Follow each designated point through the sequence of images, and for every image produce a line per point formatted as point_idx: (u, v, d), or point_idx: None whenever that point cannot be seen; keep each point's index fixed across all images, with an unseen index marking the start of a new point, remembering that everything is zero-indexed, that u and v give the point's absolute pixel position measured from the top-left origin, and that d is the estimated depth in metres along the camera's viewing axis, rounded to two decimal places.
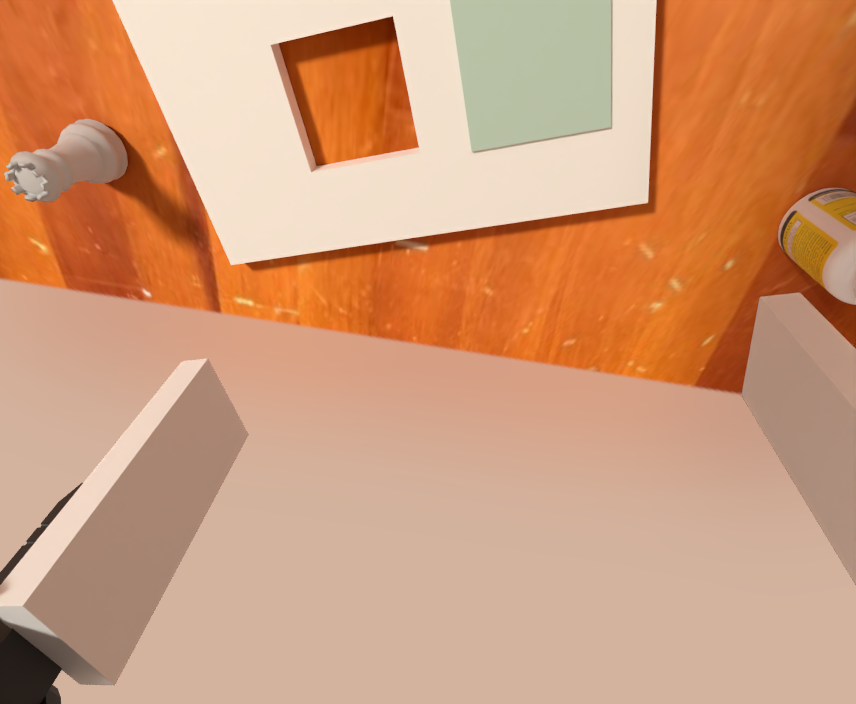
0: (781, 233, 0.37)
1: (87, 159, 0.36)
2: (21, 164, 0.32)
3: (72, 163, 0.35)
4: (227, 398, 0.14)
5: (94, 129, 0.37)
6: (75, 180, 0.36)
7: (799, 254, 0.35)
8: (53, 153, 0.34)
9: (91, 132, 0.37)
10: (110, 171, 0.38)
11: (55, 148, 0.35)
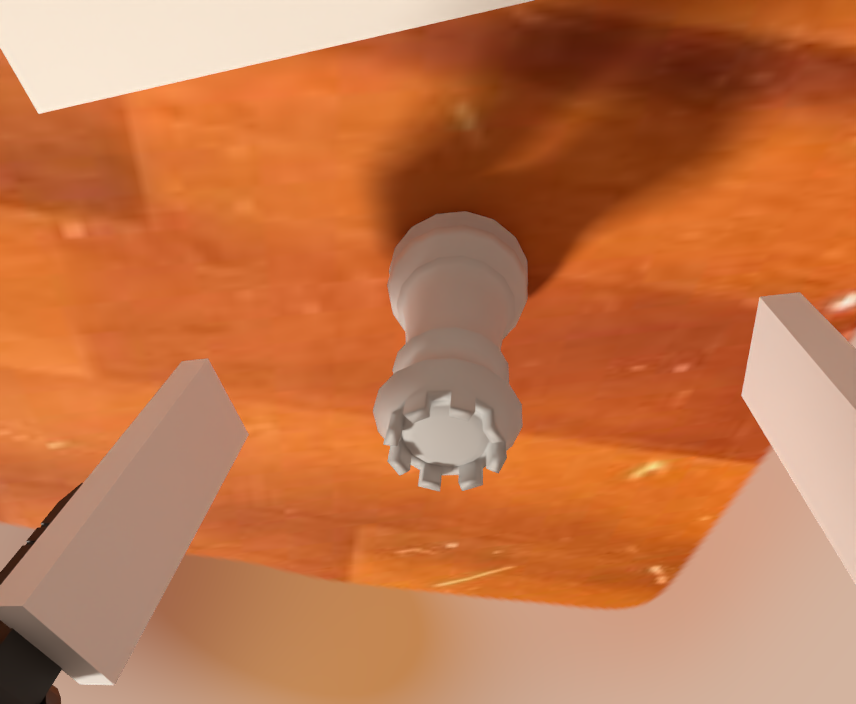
0: None
1: (445, 288, 0.13)
2: (390, 437, 0.10)
3: (439, 321, 0.12)
4: (227, 397, 0.14)
5: (397, 259, 0.15)
6: (487, 332, 0.13)
7: None
8: (402, 352, 0.12)
9: (401, 267, 0.15)
10: (494, 257, 0.14)
11: None
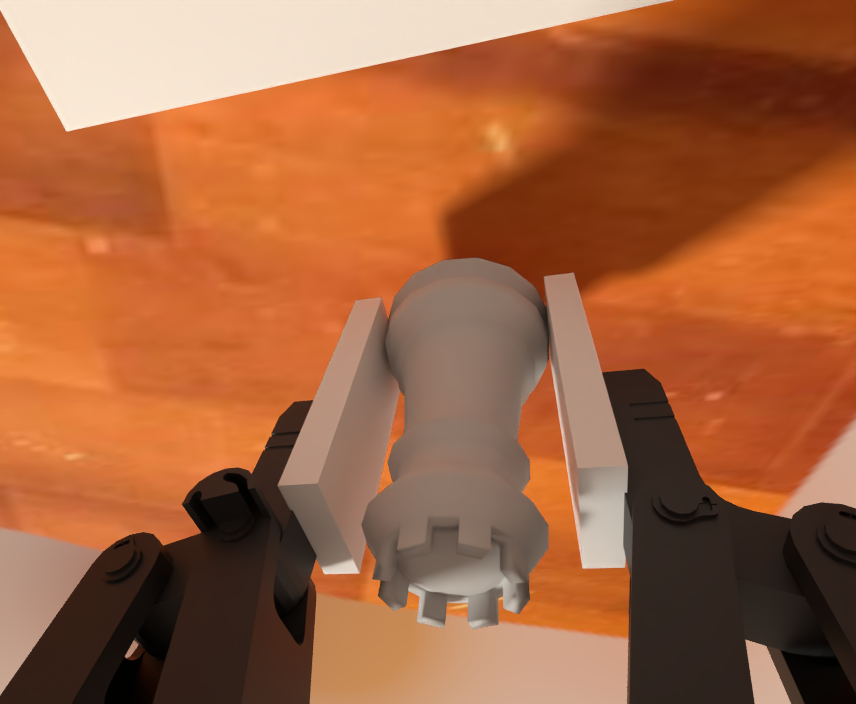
0: None
1: (452, 358, 0.11)
2: (381, 572, 0.08)
3: (445, 405, 0.10)
4: None
5: (397, 315, 0.13)
6: (503, 418, 0.10)
7: None
8: (398, 445, 0.10)
9: (400, 324, 0.13)
10: (511, 314, 0.12)
11: (404, 429, 0.11)
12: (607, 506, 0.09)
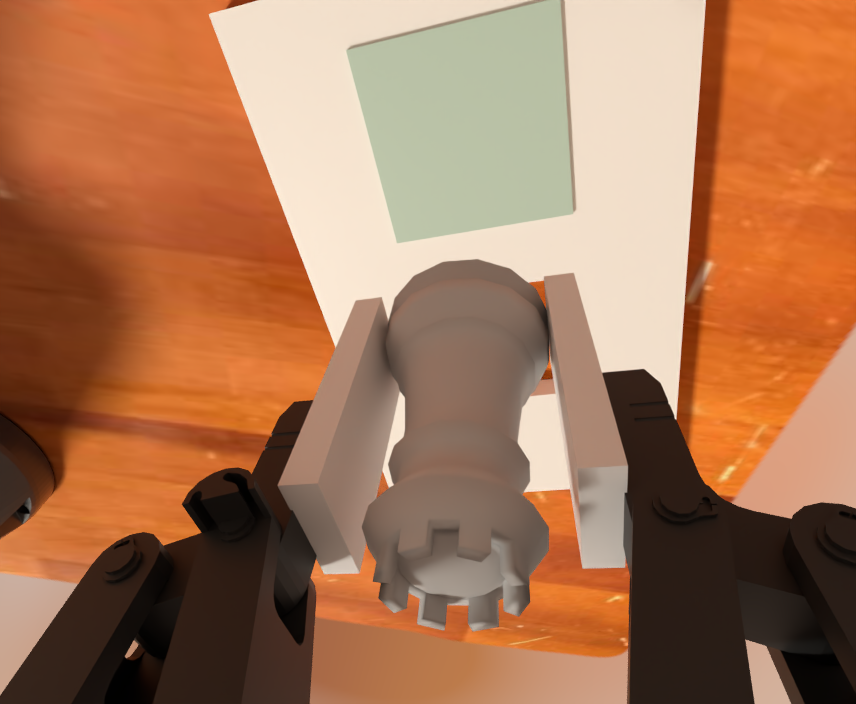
0: None
1: (452, 359, 0.11)
2: (381, 574, 0.08)
3: (445, 407, 0.10)
4: None
5: (397, 316, 0.13)
6: (504, 420, 0.10)
7: None
8: (399, 447, 0.10)
9: (400, 326, 0.13)
10: (511, 316, 0.12)
11: (405, 431, 0.11)
12: (607, 506, 0.09)
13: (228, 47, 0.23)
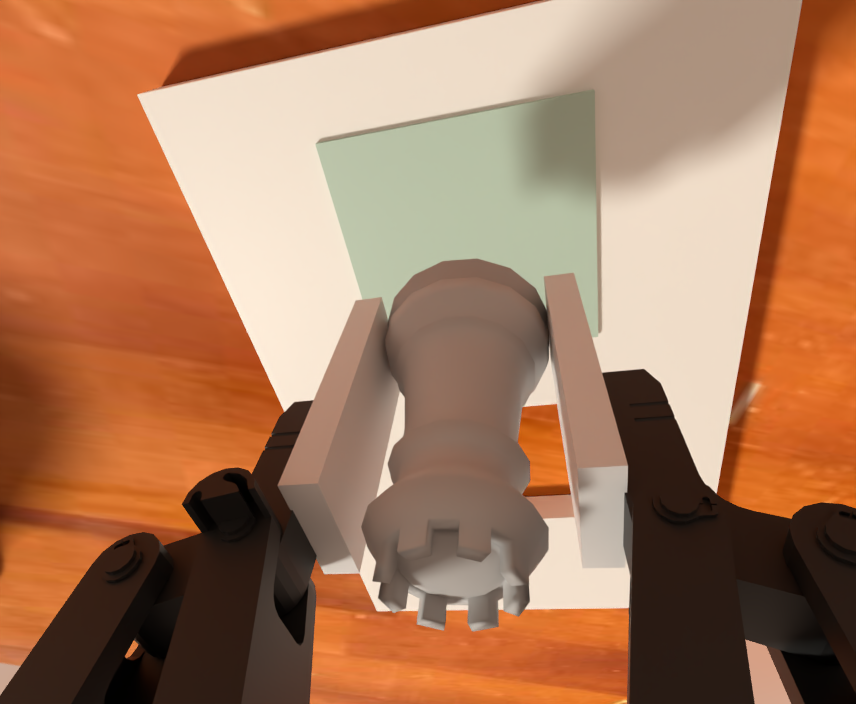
0: None
1: (452, 359, 0.11)
2: (381, 574, 0.08)
3: (445, 406, 0.10)
4: None
5: (397, 315, 0.13)
6: (504, 419, 0.10)
7: None
8: (398, 446, 0.10)
9: (400, 325, 0.13)
10: (511, 316, 0.12)
11: (404, 430, 0.11)
12: (607, 506, 0.09)
13: (164, 135, 0.18)
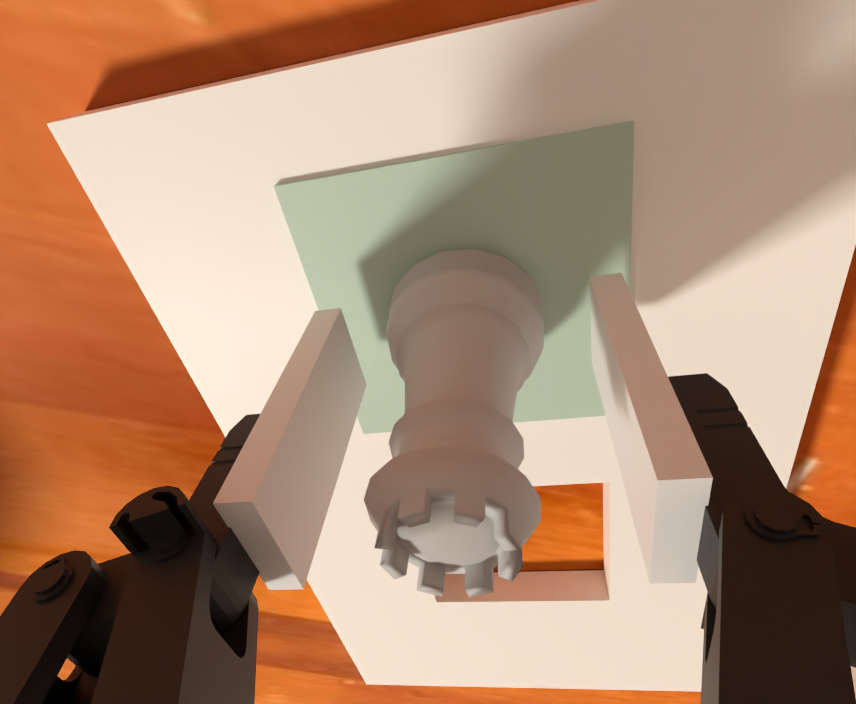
0: None
1: (450, 343, 0.12)
2: (382, 541, 0.09)
3: (443, 388, 0.11)
4: (352, 347, 0.15)
5: (397, 304, 0.13)
6: (499, 399, 0.11)
7: None
8: (399, 425, 0.10)
9: (400, 312, 0.13)
10: (506, 303, 0.13)
11: (404, 412, 0.12)
12: (684, 520, 0.08)
13: (85, 173, 0.14)
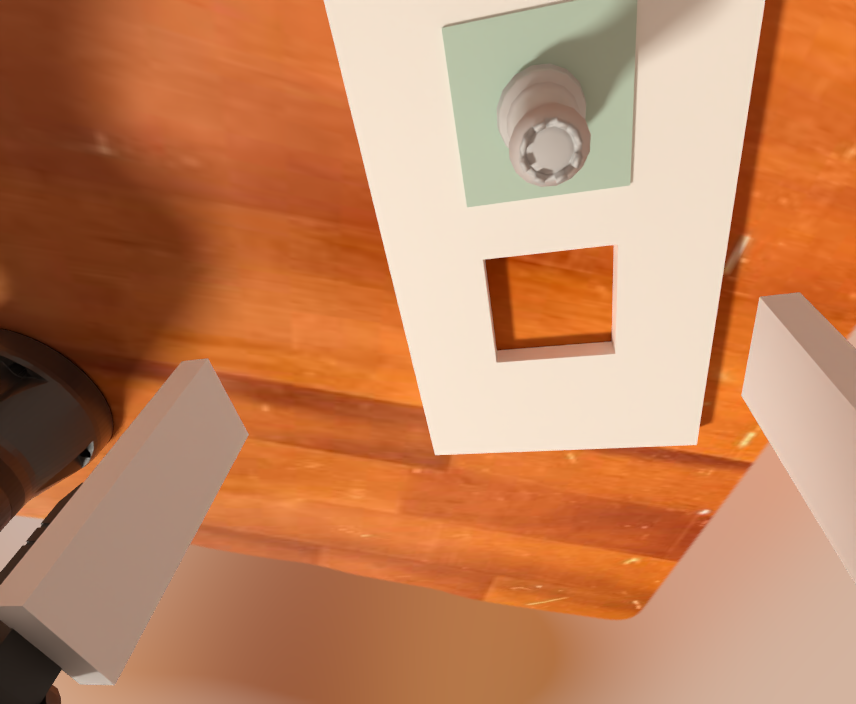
0: None
1: (542, 95, 0.23)
2: (523, 144, 0.20)
3: None
4: (227, 397, 0.14)
5: (507, 92, 0.25)
6: None
7: None
8: None
9: (510, 94, 0.25)
10: (568, 85, 0.24)
11: None
12: None
13: (334, 22, 0.26)
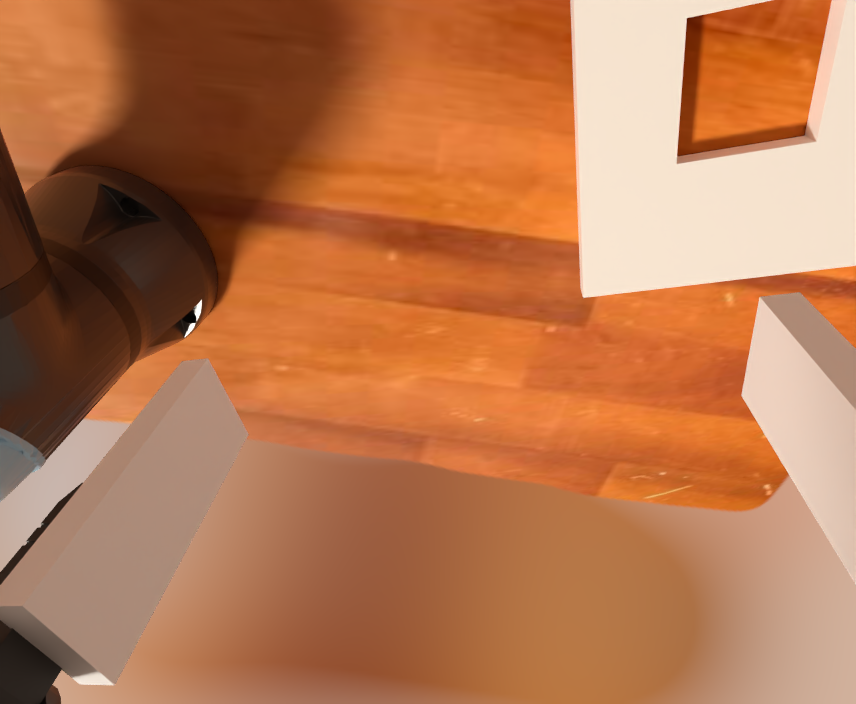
0: None
1: None
2: None
3: None
4: (227, 398, 0.14)
5: None
6: None
7: None
8: None
9: None
10: None
11: None
12: None
13: None
